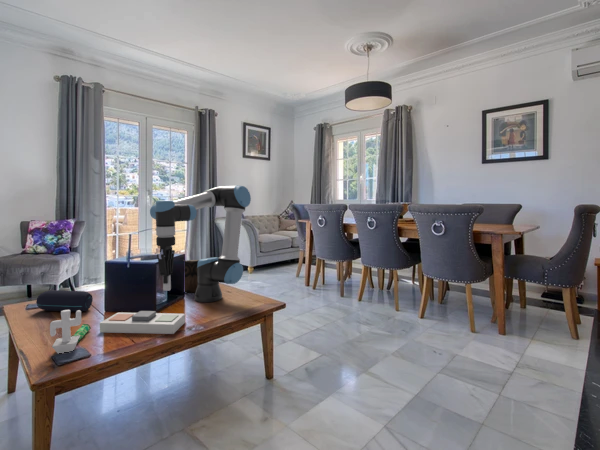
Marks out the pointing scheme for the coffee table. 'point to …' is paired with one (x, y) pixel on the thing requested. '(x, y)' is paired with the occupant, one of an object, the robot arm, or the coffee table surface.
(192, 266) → the owl
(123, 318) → the terracotta key
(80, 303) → the portable speaker
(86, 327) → the candy
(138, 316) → the charcoal key
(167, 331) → the keypad
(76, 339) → the figurine
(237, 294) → the coffee table surface
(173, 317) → the sage key
